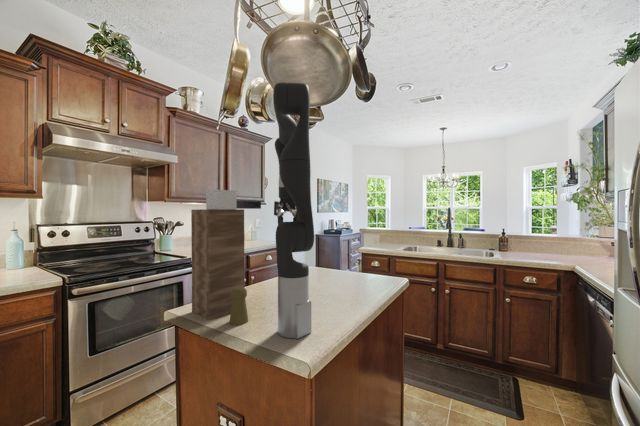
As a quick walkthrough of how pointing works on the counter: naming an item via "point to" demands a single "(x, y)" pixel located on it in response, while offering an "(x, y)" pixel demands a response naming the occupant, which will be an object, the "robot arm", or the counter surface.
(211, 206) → the meat mallet
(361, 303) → the counter surface
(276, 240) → the robot arm
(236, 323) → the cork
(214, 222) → the tall wooden block
